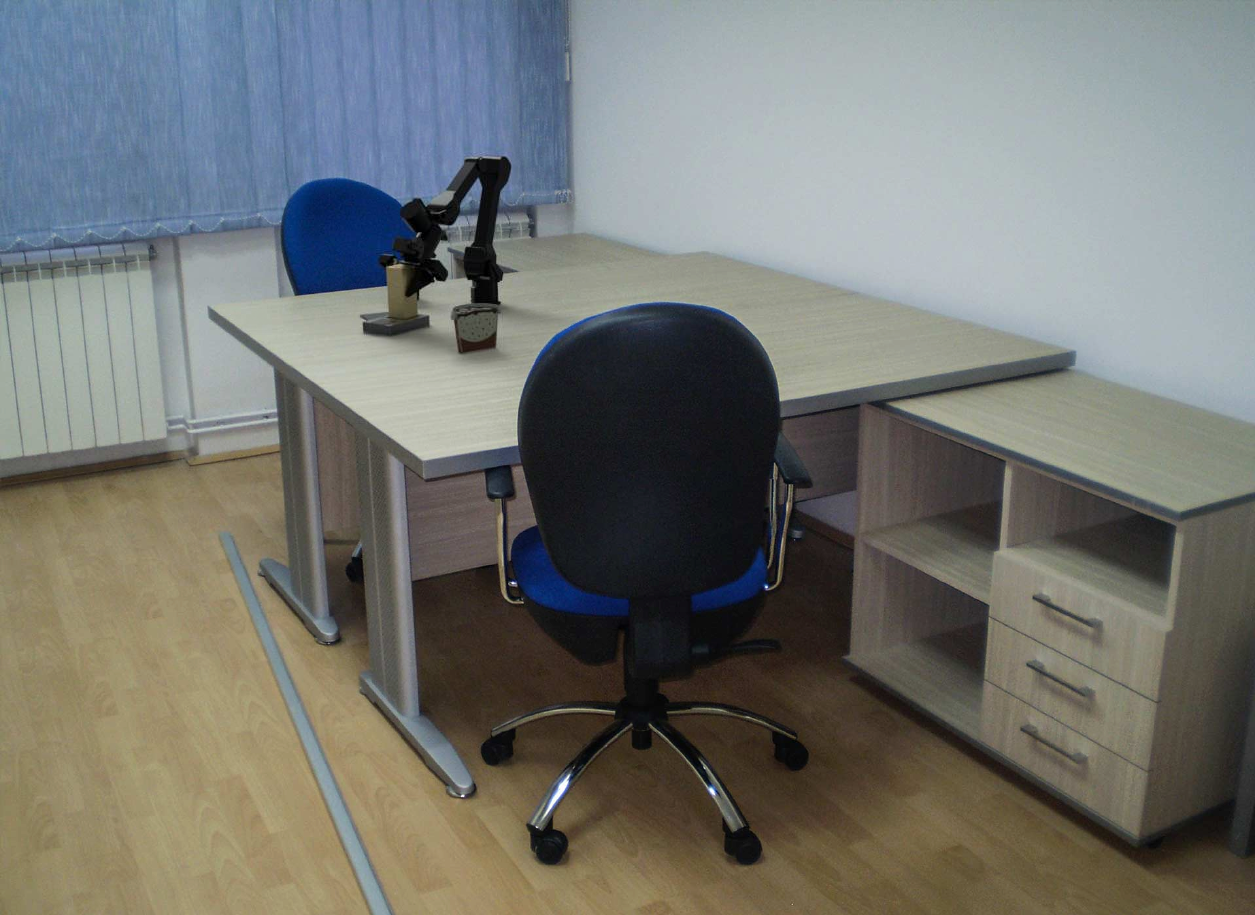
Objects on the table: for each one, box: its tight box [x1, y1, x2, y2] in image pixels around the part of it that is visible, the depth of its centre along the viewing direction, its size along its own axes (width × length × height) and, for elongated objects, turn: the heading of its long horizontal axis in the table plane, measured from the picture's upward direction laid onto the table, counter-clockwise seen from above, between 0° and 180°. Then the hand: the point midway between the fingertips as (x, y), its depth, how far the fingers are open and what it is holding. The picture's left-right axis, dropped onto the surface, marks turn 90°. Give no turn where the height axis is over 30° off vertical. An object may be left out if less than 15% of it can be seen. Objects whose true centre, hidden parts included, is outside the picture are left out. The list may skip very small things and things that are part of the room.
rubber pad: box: [359, 311, 389, 321], centre depth 326 cm, size 10×10×1 cm
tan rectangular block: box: [385, 264, 419, 320], centre depth 314 cm, size 5×5×15 cm
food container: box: [450, 303, 501, 355], centre depth 293 cm, size 12×6×10 cm, turn 129°
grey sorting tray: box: [361, 313, 431, 337], centre depth 314 cm, size 14×9×3 cm, turn 149°
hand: (398, 295), depth 313 cm, fingers closed on tan rectangular block, 5 cm apart
